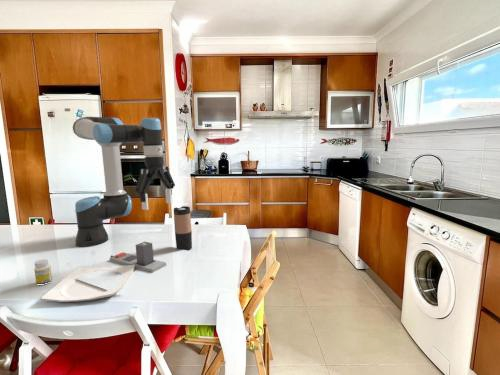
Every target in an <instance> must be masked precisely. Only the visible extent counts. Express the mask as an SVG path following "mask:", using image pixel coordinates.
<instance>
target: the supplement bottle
mask: <svg viewBox="0 0 500 375" xmlns="http://www.w3.org/2000/svg"><path fill="white" fill-rule="evenodd" d="M51 270H52V269H51V265H50V264H49V260H48V259H45V258H44V259H39V260H36V261H35V262H34V276H35V283H36V285H37V284H45V283H48V282H50V283H52V282H53V276H52V271H51ZM51 281H52V282H51Z"/></svg>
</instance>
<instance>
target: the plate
mask: <svg viewBox="0 0 500 375" xmlns="http://www.w3.org/2000/svg"><path fill="white" fill-rule="evenodd" d="M134 267H135V265H121V266H120V265H119V266H104V267H103V266H102V267H78V268H76V269H74V270H73V271H72V272H71V273H69V274H68V275H67V276H66V277H64V278H63V279H61V280H60V282H58V283H56V285H54V286H53V287H52V288H51V289H50V290H48V291H47V292H46V293H45V294H44V295H43V296H42V297H40V299H41V300H43V301H45V302H46V301H47V302H56V303H57V302H58V303H71V302H72V303H74V302H85V301H86V302H87V301H88V302H89V301H93V300H98V299H105V298H108V297H112V296H113V295H115V294H116V293H118V291H119V290H121V289H122V288H123V287H125V285H126V284H127V283H129V282H128V281H130V279H131V277H132V276H133V273H134V271H135V268H134ZM99 272H100V273H101V272H115V273H119V274H121V275H122V280H121V281H120V282H119V283H117V285H115V287H111V288H110V289H105V288H103V287H100V286H97V285H94V284H91V283H88V282H86V281H83V280H80V279H79V278H80V277H82V276H87V275H90V274H94V273H99Z"/></svg>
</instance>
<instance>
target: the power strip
mask: <svg viewBox="0 0 500 375" xmlns="http://www.w3.org/2000/svg"><path fill="white" fill-rule="evenodd" d="M109 261H110V262H113V263H117V264H120V265H123V266H127V265H135V267H134V269H139V270H142V271H147V272H150V273H155V272H157V271H159V270H160V269H163V268H165V267H166V266H167V262H164V261H161V260H157V259H154V262H153V263H151V264H149V265H147V266H141V265H138V264H137V256H136V254H131V253H127V252H120V253H118V254H115V255H110V257H109Z"/></svg>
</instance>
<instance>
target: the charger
mask: <svg viewBox="0 0 500 375" xmlns="http://www.w3.org/2000/svg"><path fill="white" fill-rule="evenodd" d="M153 248H154V246H153V242H148V241H143V242H139V243H138V244H135V251H136V252H135V255H136V256H137V264H138V265H141V266H147V265H149V264H151V263H153V262H154V260H155V259H154V249H153Z"/></svg>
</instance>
